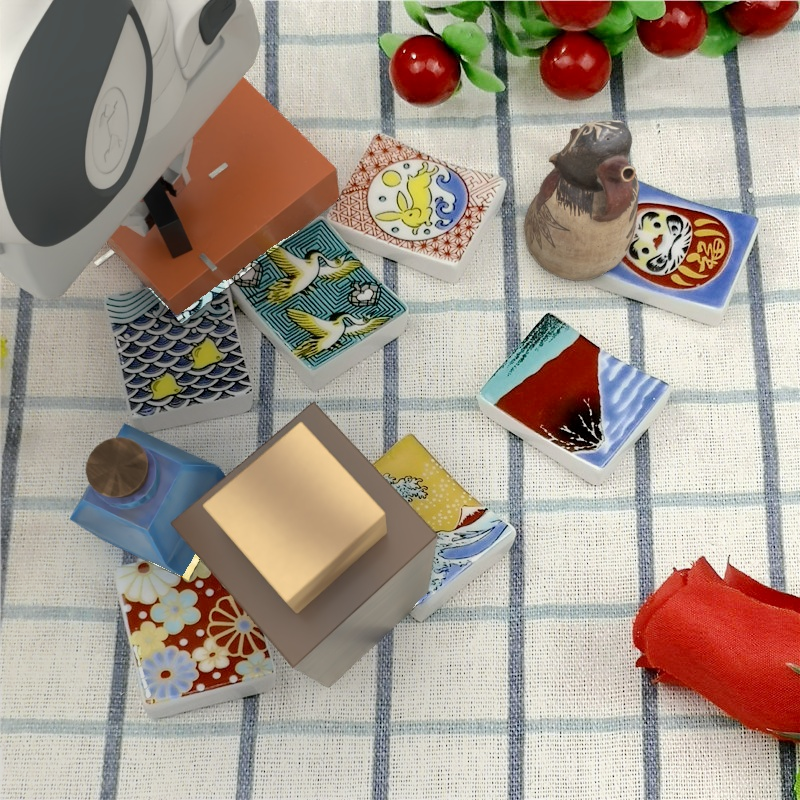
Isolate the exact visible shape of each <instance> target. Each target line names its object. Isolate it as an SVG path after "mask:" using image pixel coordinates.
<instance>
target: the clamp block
mask: <svg viewBox="0 0 800 800" xmlns="http://www.w3.org/2000/svg"><path fill="white" fill-rule="evenodd" d="M186 168H187V170H188V173H189V176H190V178H191V180H190V182H189V183H188V184H187V186H186V187H185V188H184V189H183V190H182V191H181V193H180V194H179V195H178V196H177V197H174V196H172V195H170V193H169V191H166V193H167V195H168V197H169V199H170V201H171V203H172V205H173V207H174V209H175V211H176V213H177V215H178V216H179V218H180V221H181V223H182V225H183V227H184V230H185V232H186V234H187V237H188V239H189V241H190V243H191V246H192V248H193V250H191V251H189V252H187V253H185V254H182V255H180V256H178V257H176V258H174V259H173V258H172V256H171V254H170V252H169V250H168V248H167V246H166V244H165V242H164V240H163V238H162V236H161V234H160V232H159V230H158V228H157V226H156V224H155V225H154V226H153V227H152V228H151V230H150V231H149V232H148V233H147V235H146V236H145V237H143V236H141V235H139V234H138V233H136V232H135V231H133V230H131V229H130V228H128V227H127V226H122V225H120V226H119V228H118V229H117V230H116V231H115V233H114V234H113V235H112V236H111V237H110V239H109V240H108V241H107V242H106V243H105V244H107V245H108V246H109V248H111V249H109V250H108V251H107V252H105V253H104V254H102V255H101V257H99V258H97V260H94V262H93V263H94V265H95V266H96V267H97V268H99V267H100V266H101V265H103V264H104V263H106V262H107V261H108V260H109V259H111V258H112V257H113V256H115V255H117V256H118V257H119V259H120V260H121V261H122V262H123V263H124V264H125V265H126V266H127V267H128V268H129V270H130V271H131V272H132V273H133V274H134V275H135V276H136V277H137V278H138V279H139V281H140V282H142V284H143V285H144V286H145V287H146V288H147V287H148V288H151V289H152V290H153V291H154V293H155V294H156V295H157V296H158V297H159V298H160V299H161V300H162V301H163V302H164V303H165V304H166V305H167V306H168V308H169V309H170V310H171V311H172V312H173V313H174V314H175V315H179V314H180V313H181V312H182V311H184V310H185V309H187V308H188V307H190V306H191V305H192V304H193V303H194V302H196V301H198V300H199V299H200V298H201V297H202V296H204V295H206V294H207V293H208V292H209V291H211V290H212V289H213V288H214V287H217V286H218V285H219V284H220V283H221V282H222V281H223V280H226V281H227V280H229V279H231V278H232V277H233V276H234V275H235V274H236V273H238V272H239V271H240V270H241V269H242V268H243V267H244V268H245V267H246V266H247V265H248V264H249V263H251V262H252V261H253V260H255V259H257V258H258V257H259V256H260V255H263V254H264V253H265V252H266V251H267V250H268V249H270V248H271V247H273V246H274V245H276V244H278V243H279V242H280V241H282V240H283V239H286V238H288V237H289V236H291V235H292V234H294V233H295V232H297V231H298V230H300V229H301V230H303V229H304V228H306V226H308V225H309V224H310V223H311V222H313V221H315V219H316V218H318V217H319V216H320V215H322V214H323V213H324V212H325V211H327V210H328V209H329V208H330V207H331V206H333V205H334V204H335V203H336V202H338V201H339V200H338V198H339V197H340V198H341V196H340V195H341V194H340V189H339V180H338V172H337V171H338V170H337V168H336V166H335V165H334V164H333V163H332V162H331V161H330V160H329V159H328V158H327V157H325V156H324V155H323V153H322V152H321V151H319V150H318V148H316V147H315V146H314V145H313V144H312V142H310V141H309V140H308V139H307V137H305V136H304V135H303V133H301V132H300V131H299V130H298V128H296V127H295V126H294V125H293V124H292V123H291V122H290V121H289V120H288V119H287V118H286V117H285V116H284V115H283V114H282V113H281V112H280V111H279V110H278V109H277V108H276V107H275V106H274V105H273V104H272V103H271V102H269V100H268V99H267V98H266V97H265V96H263V94H262V93H261V92H259V90H257V89H256V87H255V86H253V85H252V84H251V83H250V81H248V80H247V79H246V78H245V77H244V76H243V77H242V78H241V80H240V81H239V82H238V83H237V85H236V86H235V87H234V88H233V89H232V91H231V92H230V93H229V94H228V95H227V97H226V98H225V99H224V100H223V102H222V103H221V104H220V105H219V106H218V108H217V109H216V110H215V111H214V112H213V114H212V115H211V116H210V117H209V118H208V120H207V121H206V122H205V123H204V125H203V126H202V127H201V128H200V129H199V131H198V132H197V133H196V134H195V135H194V137H193V144H192V148H191V153H190V157H189V162H188V166H187V167H186ZM337 200H338V201H337ZM141 202H144V201H143V199H142V200H141ZM308 223H309V224H308ZM307 224H308V225H307ZM303 227H304V228H303ZM302 228H303V229H302ZM301 230H300V231H301ZM297 233H298V232H297ZM148 288H147V289H148Z"/></svg>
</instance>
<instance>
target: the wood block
mask: <svg viewBox="0 0 800 800" xmlns="http://www.w3.org/2000/svg"><path fill="white" fill-rule="evenodd" d="M203 507H204V508H205V510H206V511H207V512H208V513H209V514H210V515H211V517H212V518H213V519H214V520H215V521H216V522H217V523H218V525H219V526H220V527H221V528H222V529H223V530H224V532H225V533H226V534H227V535H228V536H229V537H230V539H231V540H232V541H233V542H234V543H235V544H236V545H237V547H238V548H239V549H240V550H241V551H242V552H243V554H244V555H245V556H246V557H247V558H248V559H249V561H250V562H251V563H252V564H253V565H254V566H255V567H256V569H257V570H258V571H259V572H260V573H261V574H262V576H263V577H264V578H265V579H266V580H267V581H268V582H269V584H270V585H271V586H272V587H273V588H274V589H275V591H276V592H277V593H278V594H279V595H280V596H281V598H282V599H283V600H284V601H285V602H286V603H287V604H288V605H289V606H290V608H291V609H292V610H293V611H294V612H295V613H299V612H300V611H301V610H302V609H304V608H305V607H306V606H307V605H308V604H309V603H310V602H311V601H312V600H314V599H315V598H316V597H317V596H318V595H319V594H320V593H321V592H322V591H323V590H325V589H326V588H327V587H328V586H329V585H330V584H331V583H332V582H333V581H335V580H336V579H337V578H338V577H339V576H340V575H341V574H342V573H343V572H345V571H346V570H347V569H348V568H349V567H350V566H351V565H352V564H353V563H355V562H356V561H357V560H358V559H359V558H360V557H361V556H362V555H363V554H365V553H366V552H367V551H368V550H369V549H370V548H371V547H372V546H373V545H375V544H376V543H377V542H378V541H379V540H380V539H381V538H382V537H383V536H385V535H386V534H387V526H386V515H385V512H384V511H383V509H382V508H381V507H380V506H379V505H378V504H377V503H376V502H375V501H374V500H373V499H372V498H371V496H370V495H369V494H368V493H367V492H366V491H365V490H364V489H363V488H362V487H361V486H360V484H359V483H358V482H357V481H356V480H355V479H354V478H353V477H352V476H351V475H350V474H349V473H348V471H347V470H346V469H345V468H344V467H343V466H342V465H341V464H340V463H339V462H338V461H337V460H336V458H335V457H334V456H333V455H332V454H331V453H330V452H329V451H328V450H327V449H326V448H325V446H324V445H323V444H322V443H321V442H320V441H319V440H318V439H317V438H316V437H315V436H314V435H313V433H312V432H311V431H310V430H309V429H308V428H307V427H306V426H305V425H304V424H303V423H302V422H299V423H298V424H297V425H296V426H295V427H294V428H292V429H291V430H290V431H289V432H288V433H286V434H285V435H284V436H283V437H282V438H281V439H279V440H278V441H277V442H276V443H275V444H274V445H272V446H271V447H270V448H269V449H268V450H266V451H265V452H264V453H263V454H262V455H261V456H259V457H258V458H257V459H256V460H255V461H253V462H252V463H251V464H250V465H249V466H248V467H246V468H245V469H244V470H243V471H242V472H241V473H239V474H238V475H237V476H236V477H235V478H233V479H232V480H231V481H230V482H229V483H228V484H226V485H225V486H224V487H223V488H222V489H220V490H219V491H218V492H217V493H216V494H215V495H213V496H212V497H211V498H210V499H209V500H208V501H206V502H205V503H204V504H203Z"/></svg>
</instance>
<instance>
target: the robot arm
mask: <svg viewBox="0 0 800 800" xmlns="http://www.w3.org/2000/svg"><path fill="white" fill-rule="evenodd" d="M260 47H261V35H260V29H259V23H258V20H257V15H256V12H255V10H254V7H253V3H252V1H251V0H0V274H1V275H2V276H3V277H5V278H6V279H7V280H8V281H10V282H12V283H13V284H14V285H16V286H17V287H19V288H20V289H22V290H23V291H25V292H26V293H28V294H30V295H31V296H33V297H35V298H37V299H38V300H41V301H49V300H54V299H58V298H61V297H62V296H63V295H64V294H65V293H66V292H67V291H68V290H69V289H70V287H71V286H72V285H73V284H74V283H75V282H76V280H77V279H78V278H79V276H80V275H81V274H82V273H83V272H84V270H85V269H86V268H87V267H88V265H89V264H90V263H91V261H93V259H94V258H95V257H96V256H97V254H98V253H99V252H100V251H101V249H103V247H104V246H106V245H105V244H107V243H106V242H107V241H108V240H109V239H110V237H111V236H112V235H113V234H114V233H115V231H116V230H117V229H118V228H119V226H120V225H122V226H127V227H128V228H130V229H131V230H133V231H135V232H136V233H138V234H139V235H141V236H143V237H145V236H146V235H147V233H148V232H149V231H150V230H151V228H152V227H153V226H154V225H155V222H154V220H153V218H152V216H151V214H150V212H149V210H148V208H147V206H146V204H145V202H141V200H142V199H143V197H144V196H145V195H146V194H147V193H148V191H149V190H150V189H151V188H152V186H153V185H154V184H155V183H156V182H157V180H158V179H159V180H160V182H161V184H162V186H163V188H164V189H165V191H169V193H170V195H172V196H174V197H177V196H178V195H179V194H180V193H181V191H182V190H183V189H184V188H185V187H186V186H187V184H188V183H189V182H190V180H191V178H190V176H189V173H188V170H187V168H186V167H187V166H188V162H189V157H190V153H191V148H192V144H193V137H194V135H195V134H196V133H197V132H198V131H199V129H200V128H201V127H202V126H203V125H204V123H205V122H206V121H207V120H208V118H209V117H210V116H211V115H212V114H213V112H214V111H215V110H216V109H217V108H218V106H219V105H220V104H221V103H222V102H223V100H224V99H225V98H226V97H227V95H228V94H229V93H230V92H231V91H232V89H233V88H234V87H235V86H236V85H237V83H238V82H239V81H240V80H241V78H242V77H244V76H245V75H246V74H247V73H248V72H249V70H250V69H252V66H253V65H254V64H255V61H256V59H257V57H258V53H259V49H260Z"/></svg>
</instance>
